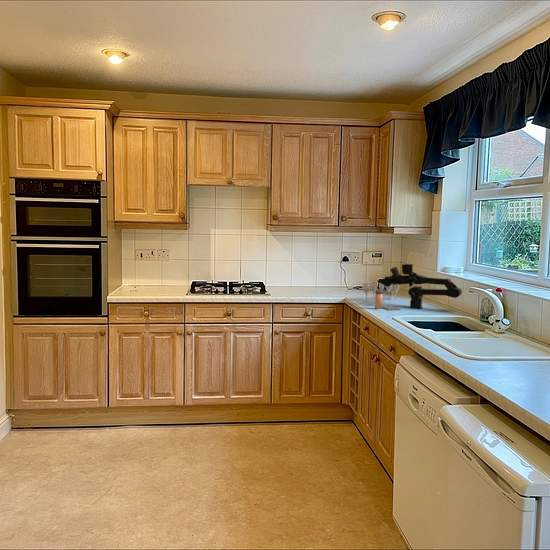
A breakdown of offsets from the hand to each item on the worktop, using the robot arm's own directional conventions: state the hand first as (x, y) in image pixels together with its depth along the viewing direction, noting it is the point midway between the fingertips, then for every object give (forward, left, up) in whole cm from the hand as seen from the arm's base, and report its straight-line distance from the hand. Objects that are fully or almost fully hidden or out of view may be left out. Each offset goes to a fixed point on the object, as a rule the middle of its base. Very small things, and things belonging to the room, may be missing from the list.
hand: (379, 280), depth 349 cm
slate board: (-13, +12, -16) cm, 24 cm away
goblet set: (+5, -15, -16) cm, 23 cm away
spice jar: (-7, +18, -16) cm, 25 cm away
